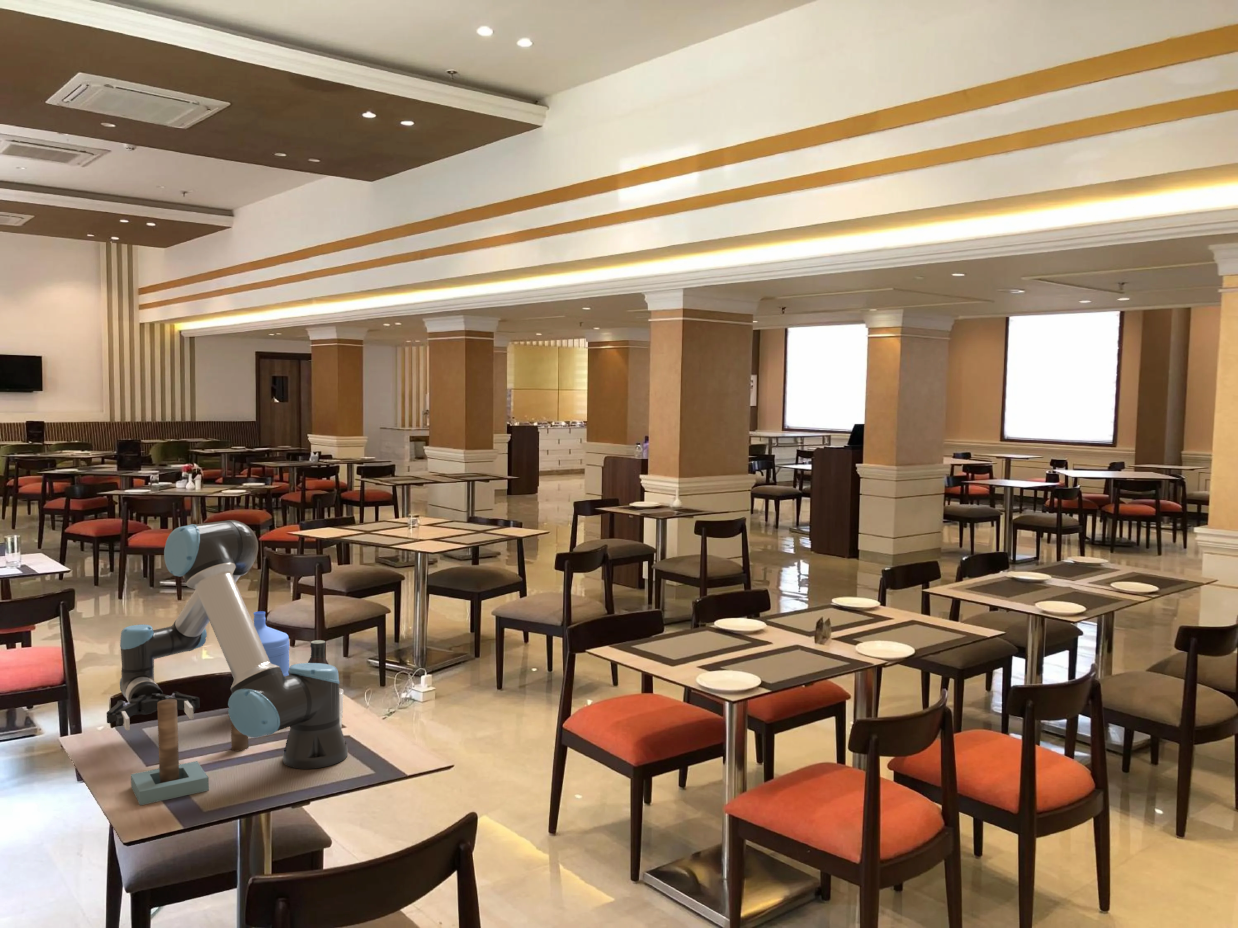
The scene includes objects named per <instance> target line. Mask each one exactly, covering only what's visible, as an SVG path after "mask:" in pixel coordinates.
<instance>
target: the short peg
mask: <svg viewBox="0 0 1238 928" xmlns="http://www.w3.org/2000/svg"><path fill="white" fill-rule="evenodd" d="M230 743H231V744H230V746H231V751H232V752H242V751H246V750H248V749H249V737H248V736H247V735H243V734H242V733H240V732H239V731H238V730H237V729H236V728H235V726H234V725H233V723H232V721H231V720H230ZM247 748H248V749H247ZM245 749H246V750H245Z"/></svg>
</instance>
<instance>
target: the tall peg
mask: <svg viewBox="0 0 1238 928" xmlns="http://www.w3.org/2000/svg"><path fill="white" fill-rule="evenodd" d="M156 711H157V737H158V742H157V743H158V765H159V767H158V769H159V774H160V783H164V782H169V781H174V780H179V765H180V763H179V762H180V759H179V755H180V754H179V752H180V751H179V730H178V729H179V728H178V727H179V726H178V724H179V723H178V721H179V720H178V709H177V700H175V699H166V700H161V701H159V702H158V703H157V710H156Z"/></svg>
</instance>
